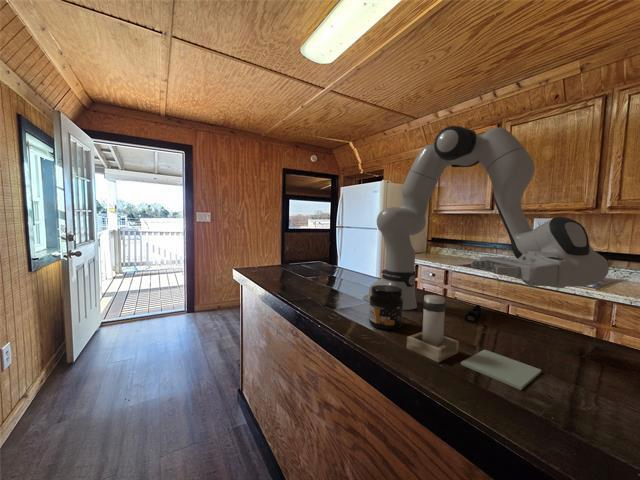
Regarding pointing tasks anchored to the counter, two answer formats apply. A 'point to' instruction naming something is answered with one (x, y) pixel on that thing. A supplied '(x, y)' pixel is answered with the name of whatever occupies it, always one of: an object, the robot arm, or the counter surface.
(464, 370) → the counter surface
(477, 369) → the mat
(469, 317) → the electric trimmer
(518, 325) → the counter surface
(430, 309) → the white capsule post
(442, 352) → the square wooden frame
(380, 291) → the supplement container
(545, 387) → the counter surface
